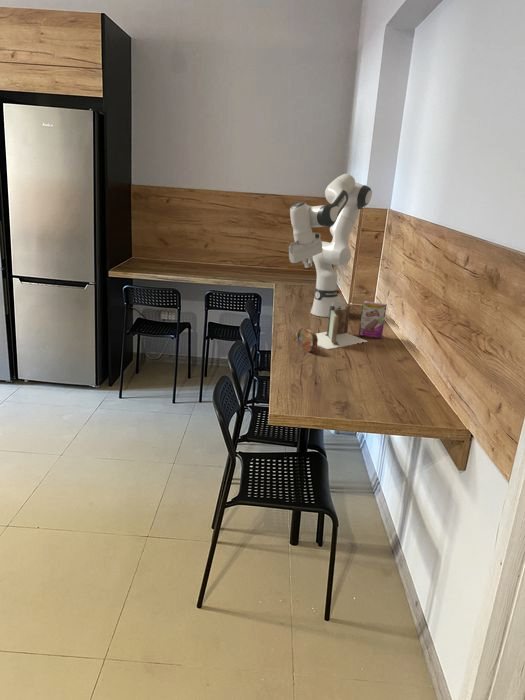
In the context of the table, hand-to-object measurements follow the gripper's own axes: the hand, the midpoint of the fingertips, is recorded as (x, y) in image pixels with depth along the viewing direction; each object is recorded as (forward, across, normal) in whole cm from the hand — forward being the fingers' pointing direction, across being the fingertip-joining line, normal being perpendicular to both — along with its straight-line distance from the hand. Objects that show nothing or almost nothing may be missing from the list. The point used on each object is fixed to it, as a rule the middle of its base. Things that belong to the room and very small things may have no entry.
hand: (308, 267), depth 253 cm
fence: (+33, 0, -12) cm, 35 cm away
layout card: (+32, -9, -16) cm, 37 cm away
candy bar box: (+38, +12, -22) cm, 45 cm away
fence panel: (+31, -11, -17) cm, 37 cm away
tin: (+28, -29, -18) cm, 44 cm away
